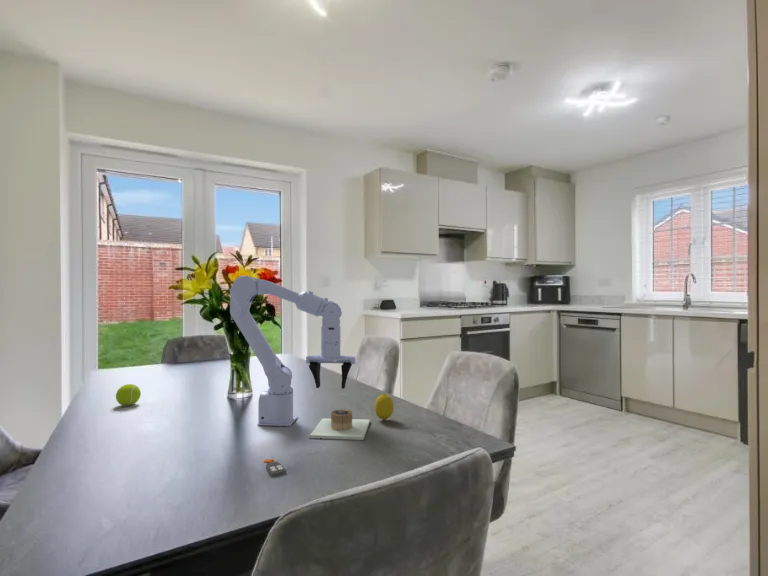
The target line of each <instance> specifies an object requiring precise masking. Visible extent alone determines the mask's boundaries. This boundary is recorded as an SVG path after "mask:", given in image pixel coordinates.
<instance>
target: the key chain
mask: <svg viewBox="0 0 768 576" xmlns="http://www.w3.org/2000/svg"><path fill="white" fill-rule="evenodd" d="M263 463H266V464H265V468H266V472H267V473H268V474H269V477H270V478H276V477H280V476H284V475H287V469H286V468H285V467H284V466H283V465H282V464H281V463H280V462H278V461H276V459H275V458H272V457H271V458H270V459H269V458H267V459H264V460H263Z"/></svg>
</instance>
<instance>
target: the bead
mask: <svg viewBox="0 0 768 576" xmlns="http://www.w3.org/2000/svg"><path fill="white" fill-rule="evenodd" d="M338 411H345V414H343V415H339V414H338ZM330 415H331V416H330V418H331V428H332V429H333V430H339V431H342V430H349V429H351V428H352V419H353V411H352V410H349V409H335V410H333V411H331V413H330Z"/></svg>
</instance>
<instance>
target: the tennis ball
mask: <svg viewBox="0 0 768 576" xmlns="http://www.w3.org/2000/svg"><path fill="white" fill-rule="evenodd" d="M141 392H142V391H141V389H140V388H139V386H137V385H135V384H131V383H127V384H124V385H122V386H120V387H119V388H118V390H117V391H116V393H115V399H116V402H117V403H118V404H119V405H120V406H123V407H130V406H132V405H134V404H136V403H137V402H138V401H139V399H140V398H141V394H142V393H141Z"/></svg>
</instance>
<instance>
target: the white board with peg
mask: <svg viewBox="0 0 768 576" xmlns="http://www.w3.org/2000/svg"><path fill="white" fill-rule="evenodd" d="M338 414H339V415H343V414H345V411H338ZM370 423H371V420H370V419H367V418H366V419H364V418H363V419H362V418H361V419H360V418H357V419H356V418H352V428H351V429H349V430H342V431H339V430H333V429H332V428H331V417H330V418H325V417H323V418H321V420H320V421H319V422H318V424H317V425H316V426H315V428H314V429H313V430H312V432H311V433H310V434H309V439H320V438H322V439H325V440H327V439H328V440H350V441H351V440H353V441H354V440H355V441H357V440H358V441H359V440H360V441H363V440H364V439H365V437H366V434H367V431H368V428H369V425H370ZM322 439H321V440H322Z"/></svg>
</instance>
